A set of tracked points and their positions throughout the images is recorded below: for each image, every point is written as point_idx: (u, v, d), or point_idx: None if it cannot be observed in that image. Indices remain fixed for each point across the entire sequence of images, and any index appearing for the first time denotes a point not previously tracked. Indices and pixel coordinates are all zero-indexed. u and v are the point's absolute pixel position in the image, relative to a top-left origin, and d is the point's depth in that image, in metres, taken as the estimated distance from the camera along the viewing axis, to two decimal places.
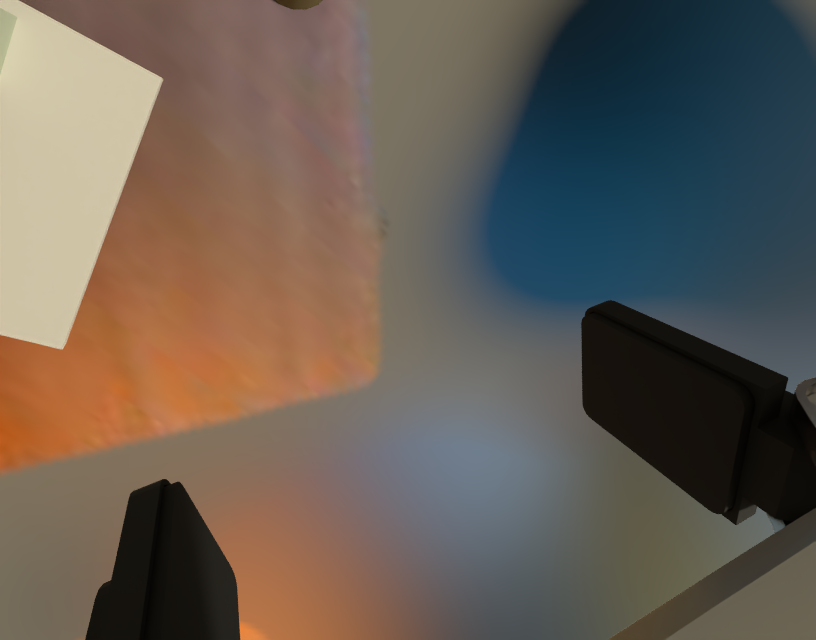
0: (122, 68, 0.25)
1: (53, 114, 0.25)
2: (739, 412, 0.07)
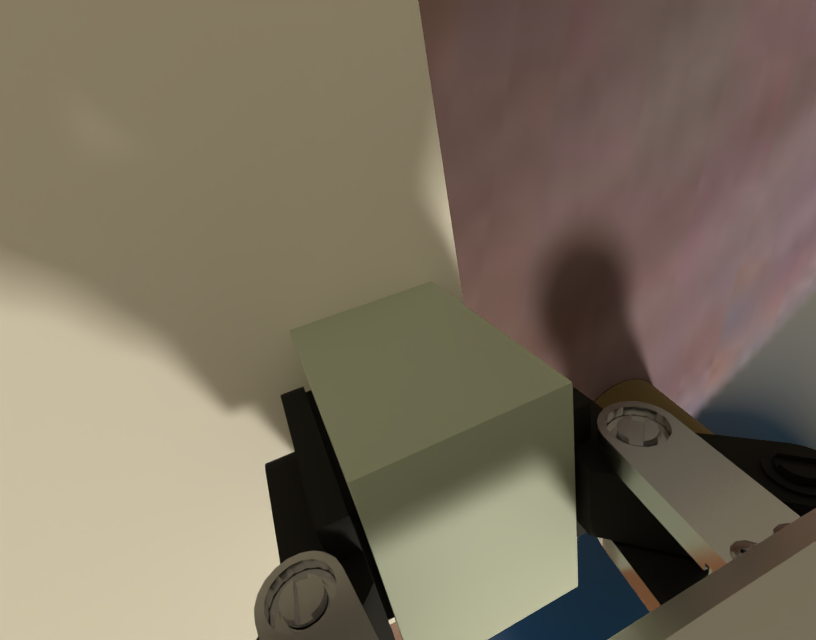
0: None
1: None
2: None
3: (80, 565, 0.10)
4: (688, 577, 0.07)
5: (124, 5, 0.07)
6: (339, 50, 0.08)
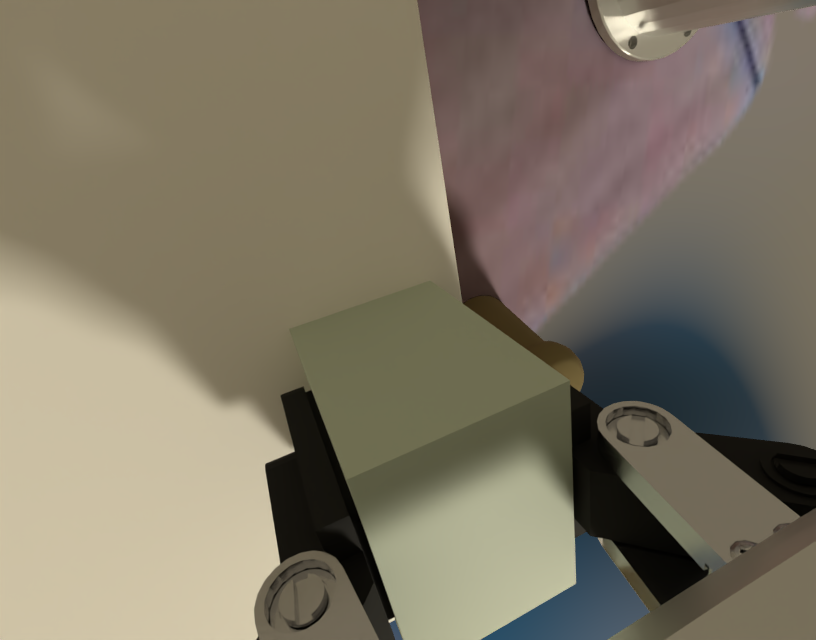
0: None
1: None
2: None
3: (80, 562, 0.10)
4: (688, 577, 0.07)
5: (125, 6, 0.07)
6: (339, 50, 0.08)
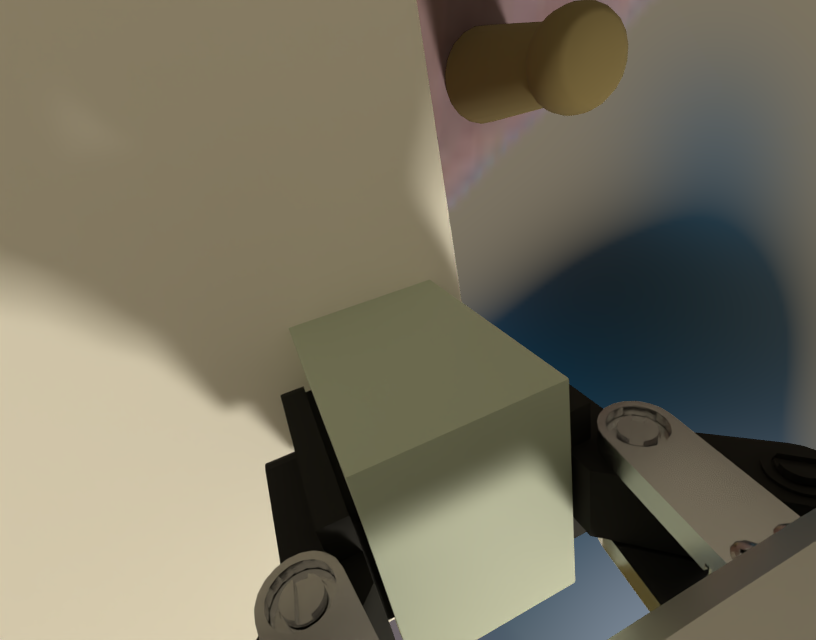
0: None
1: None
2: None
3: (80, 561, 0.10)
4: (688, 577, 0.07)
5: (124, 5, 0.07)
6: (339, 49, 0.08)
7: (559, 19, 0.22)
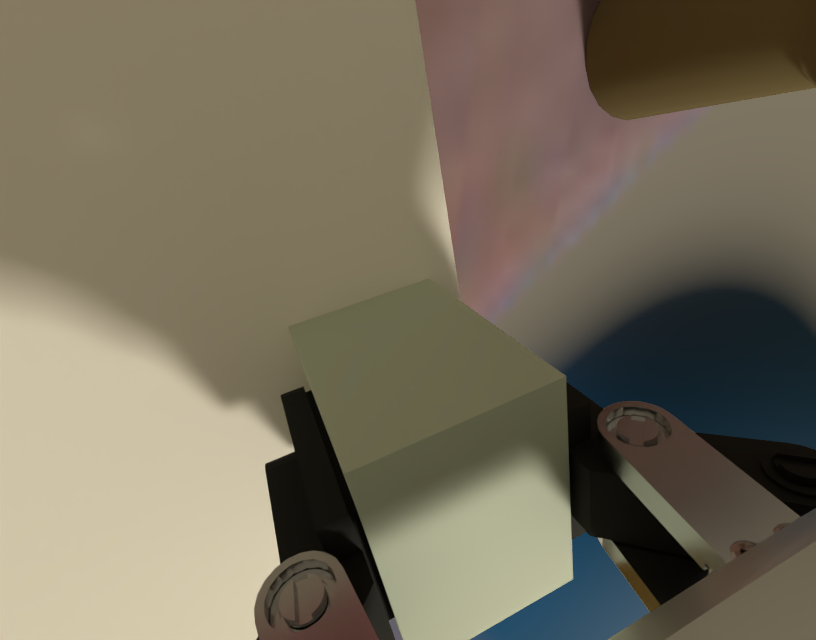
0: None
1: None
2: None
3: (80, 559, 0.10)
4: (688, 577, 0.07)
5: (124, 5, 0.07)
6: (337, 49, 0.08)
7: None
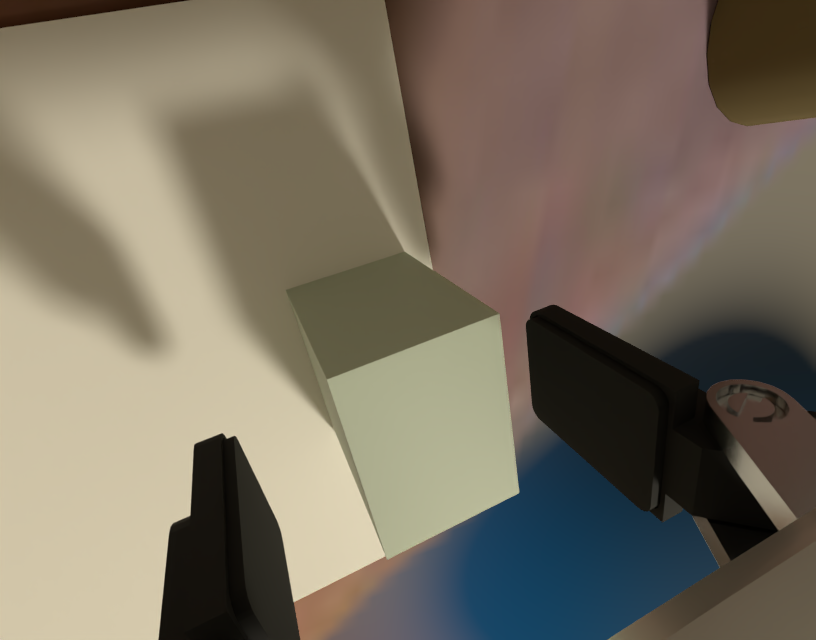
0: None
1: (348, 488, 0.16)
2: (655, 413, 0.08)
3: (112, 485, 0.12)
4: None
5: (157, 27, 0.09)
6: (325, 59, 0.10)
7: None
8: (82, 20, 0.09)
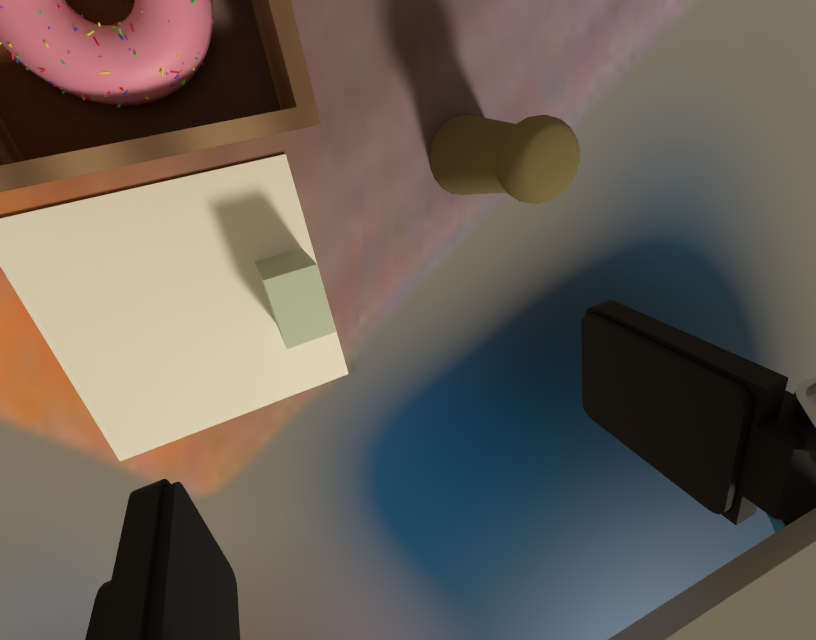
0: (336, 357, 0.38)
1: (283, 352, 0.36)
2: (739, 412, 0.07)
3: (187, 336, 0.32)
4: None
5: (213, 176, 0.30)
6: (267, 181, 0.31)
7: (522, 132, 0.26)
8: (191, 176, 0.29)
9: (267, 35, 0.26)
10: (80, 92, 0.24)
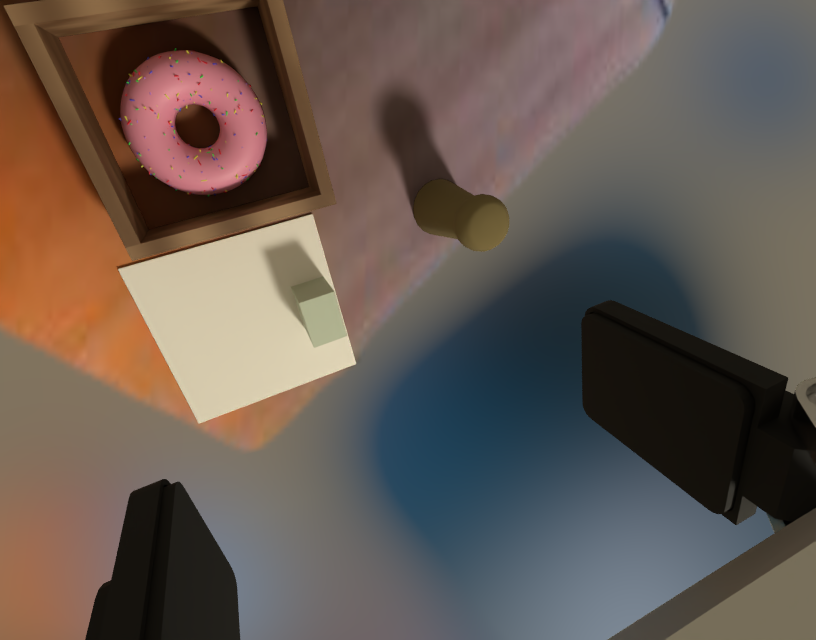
0: (347, 352, 0.52)
1: (309, 348, 0.50)
2: (739, 412, 0.07)
3: (245, 338, 0.47)
4: None
5: (264, 231, 0.44)
6: (300, 233, 0.45)
7: (468, 208, 0.40)
8: (250, 232, 0.43)
9: (301, 145, 0.40)
10: (187, 190, 0.38)
